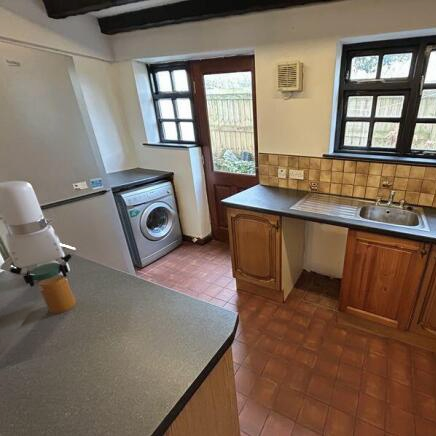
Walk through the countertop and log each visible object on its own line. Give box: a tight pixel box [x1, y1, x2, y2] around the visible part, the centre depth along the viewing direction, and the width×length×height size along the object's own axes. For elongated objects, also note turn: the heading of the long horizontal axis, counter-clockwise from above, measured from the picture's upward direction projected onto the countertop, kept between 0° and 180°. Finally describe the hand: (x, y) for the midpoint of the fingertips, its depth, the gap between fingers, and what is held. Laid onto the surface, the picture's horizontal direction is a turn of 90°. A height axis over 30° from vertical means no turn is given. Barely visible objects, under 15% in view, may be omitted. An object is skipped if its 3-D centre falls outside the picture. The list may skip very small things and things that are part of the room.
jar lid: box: [29, 263, 61, 282], centre depth 73 cm, size 7×7×2 cm
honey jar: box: [38, 274, 77, 315], centre depth 76 cm, size 6×6×11 cm
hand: (49, 278), depth 74 cm, fingers closed on jar lid, 6 cm apart
